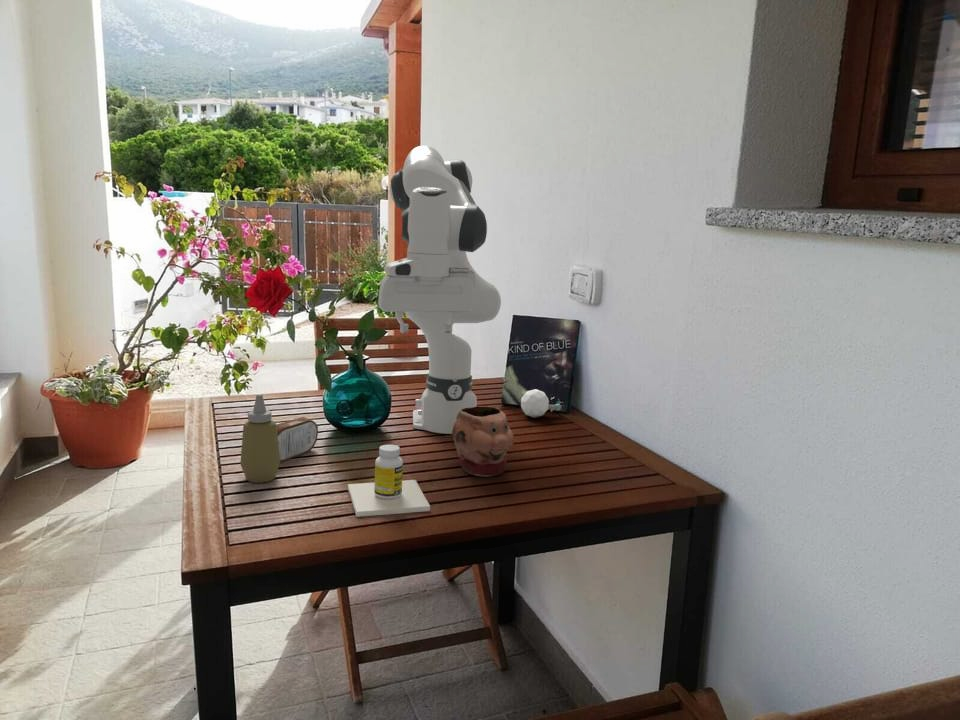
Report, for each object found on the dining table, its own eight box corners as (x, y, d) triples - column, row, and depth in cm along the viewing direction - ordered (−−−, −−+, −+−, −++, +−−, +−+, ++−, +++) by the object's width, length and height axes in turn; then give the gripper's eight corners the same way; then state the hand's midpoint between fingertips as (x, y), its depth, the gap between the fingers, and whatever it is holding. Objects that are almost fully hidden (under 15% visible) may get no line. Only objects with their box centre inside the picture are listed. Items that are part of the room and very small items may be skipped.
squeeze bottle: (242, 487, 145) (240, 401, 141) (238, 473, 152) (236, 391, 148) (283, 483, 148) (282, 398, 144) (277, 470, 155) (276, 389, 152)
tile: (347, 488, 147) (347, 484, 146) (415, 484, 151) (415, 479, 150) (356, 516, 133) (356, 511, 133) (429, 511, 138) (430, 506, 137)
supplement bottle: (397, 501, 139) (398, 453, 137) (370, 498, 140) (371, 450, 138) (405, 491, 144) (406, 444, 142) (379, 488, 145) (380, 441, 143)
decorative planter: (431, 459, 166) (433, 401, 163) (473, 451, 173) (476, 395, 170) (483, 487, 150) (486, 424, 148) (527, 477, 158) (531, 416, 155)
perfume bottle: (515, 399, 210) (553, 403, 213) (518, 421, 204) (558, 425, 207) (523, 382, 204) (562, 386, 207) (527, 404, 199) (567, 409, 202)
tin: (310, 446, 171) (310, 412, 170) (320, 449, 170) (320, 415, 168) (262, 464, 159) (262, 427, 157) (273, 467, 157) (272, 430, 155)
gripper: (471, 266, 155) (469, 329, 158) (377, 264, 149) (376, 330, 152) (480, 269, 149) (477, 334, 152) (382, 267, 143) (381, 335, 146)
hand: (426, 332), depth 152 cm, fingers open, 8 cm apart
